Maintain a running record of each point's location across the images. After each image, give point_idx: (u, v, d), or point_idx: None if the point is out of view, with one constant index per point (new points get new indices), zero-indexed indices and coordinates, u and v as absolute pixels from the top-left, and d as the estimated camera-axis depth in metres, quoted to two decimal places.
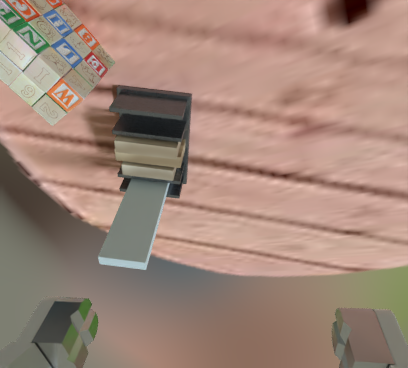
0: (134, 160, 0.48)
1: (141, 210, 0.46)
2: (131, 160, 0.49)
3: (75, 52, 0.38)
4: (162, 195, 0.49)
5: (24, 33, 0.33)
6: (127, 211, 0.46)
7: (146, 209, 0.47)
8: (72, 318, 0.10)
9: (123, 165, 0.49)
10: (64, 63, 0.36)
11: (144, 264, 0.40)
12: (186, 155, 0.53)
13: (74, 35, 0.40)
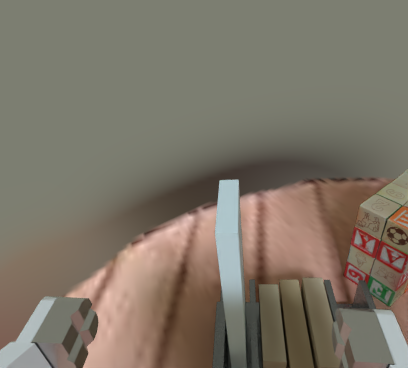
0: (286, 303, 0.33)
1: None
2: (285, 299, 0.33)
3: None
4: (244, 333, 0.28)
5: None
6: None
7: None
8: (72, 318, 0.10)
9: (276, 286, 0.34)
10: None
11: (232, 231, 0.21)
12: None
13: None
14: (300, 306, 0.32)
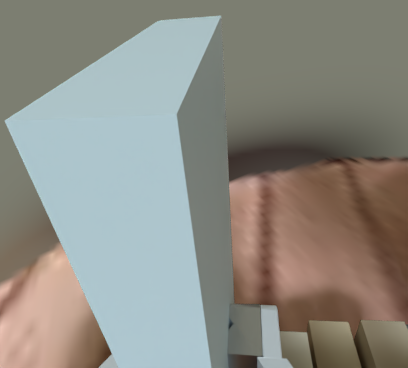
0: None
1: None
2: None
3: None
4: None
5: None
6: (231, 289, 0.11)
7: None
8: None
9: (304, 337, 0.16)
10: None
11: (135, 110, 0.03)
12: None
13: None
14: None
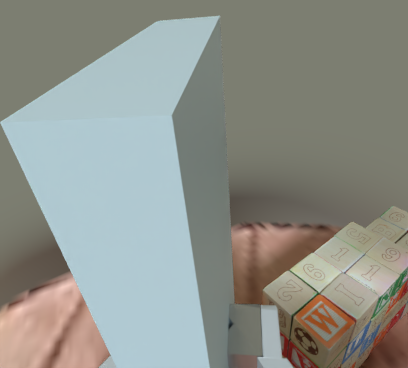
0: None
1: None
2: None
3: (350, 354, 0.26)
4: None
5: (390, 290, 0.25)
6: (231, 290, 0.11)
7: None
8: None
9: None
10: (357, 332, 0.24)
11: (131, 111, 0.03)
12: None
13: (355, 359, 0.28)
14: None
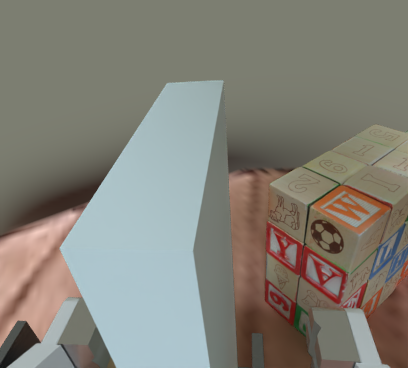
0: None
1: None
2: None
3: (379, 268, 0.21)
4: None
5: None
6: (232, 316, 0.12)
7: None
8: None
9: None
10: (390, 231, 0.19)
11: (160, 241, 0.03)
12: None
13: (382, 282, 0.23)
14: None
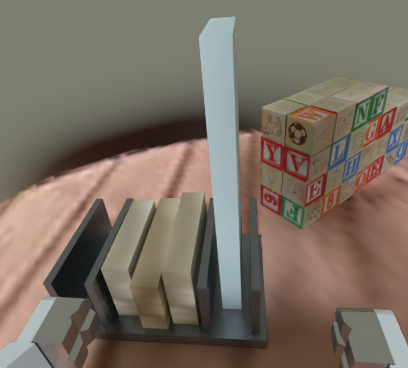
0: (157, 218, 0.28)
1: (238, 171, 0.21)
2: (158, 215, 0.28)
3: (334, 164, 0.32)
4: (239, 236, 0.21)
5: (366, 107, 0.31)
6: None
7: (238, 181, 0.21)
8: (72, 318, 0.10)
9: (151, 202, 0.29)
10: (339, 134, 0.30)
11: (224, 35, 0.14)
12: (128, 330, 0.24)
13: (339, 180, 0.34)
14: (172, 221, 0.27)
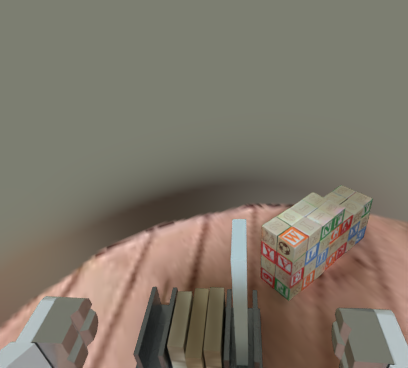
0: (195, 305, 0.44)
1: None
2: (195, 302, 0.44)
3: (309, 260, 0.48)
4: (247, 330, 0.38)
5: (329, 225, 0.48)
6: None
7: None
8: (72, 318, 0.10)
9: (190, 293, 0.45)
10: (311, 245, 0.46)
11: (242, 259, 0.31)
12: None
13: (313, 267, 0.51)
14: (204, 308, 0.43)
